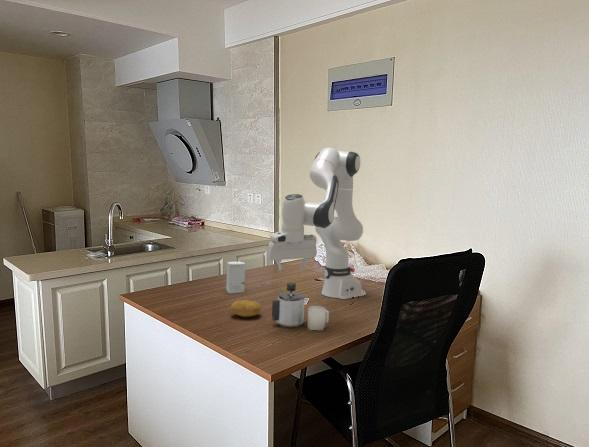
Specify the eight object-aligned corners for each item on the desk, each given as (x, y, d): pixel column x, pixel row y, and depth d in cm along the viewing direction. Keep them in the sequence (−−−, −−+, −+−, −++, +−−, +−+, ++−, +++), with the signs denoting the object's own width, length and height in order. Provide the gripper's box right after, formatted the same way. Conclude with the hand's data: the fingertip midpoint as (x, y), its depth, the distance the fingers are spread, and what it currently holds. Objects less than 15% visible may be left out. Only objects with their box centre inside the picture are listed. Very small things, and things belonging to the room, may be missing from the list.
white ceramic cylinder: (323, 323, 180) (323, 304, 179) (330, 329, 173) (331, 310, 172) (304, 325, 176) (305, 306, 175) (311, 332, 170) (312, 312, 169)
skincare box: (228, 293, 216) (229, 264, 214) (225, 290, 221) (226, 261, 219) (245, 292, 219) (245, 263, 217) (241, 289, 224) (242, 260, 222)
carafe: (297, 317, 186) (298, 290, 184) (307, 326, 176) (308, 297, 174) (268, 320, 181) (268, 292, 179) (276, 329, 171) (277, 300, 170)
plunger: (295, 315, 184) (296, 280, 182) (302, 321, 177) (303, 285, 175) (278, 317, 181) (279, 282, 179) (284, 323, 174) (285, 287, 172)
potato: (259, 320, 180) (259, 304, 179) (228, 319, 181) (228, 303, 180) (261, 313, 190) (262, 297, 189) (232, 312, 190) (232, 296, 189)
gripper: (313, 233, 181) (312, 265, 183) (266, 235, 173) (265, 269, 175) (319, 235, 175) (318, 269, 177) (271, 238, 167) (271, 273, 169)
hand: (292, 269), depth 176 cm, fingers open, 8 cm apart
